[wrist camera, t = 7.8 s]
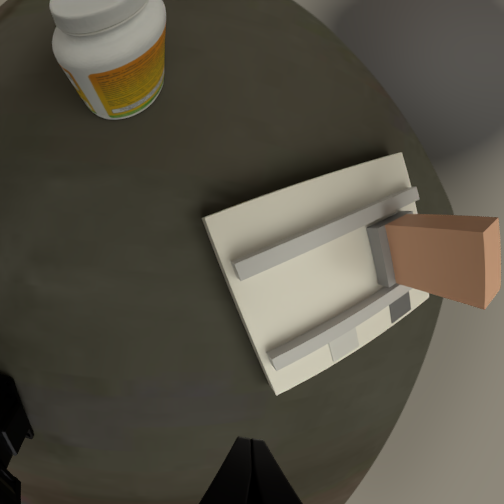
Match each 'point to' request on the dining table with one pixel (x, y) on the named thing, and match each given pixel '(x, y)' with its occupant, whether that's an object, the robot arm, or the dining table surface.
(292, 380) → the switch board
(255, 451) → the robot arm
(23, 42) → the dining table surface
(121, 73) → the supplement bottle
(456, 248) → the slide tab
